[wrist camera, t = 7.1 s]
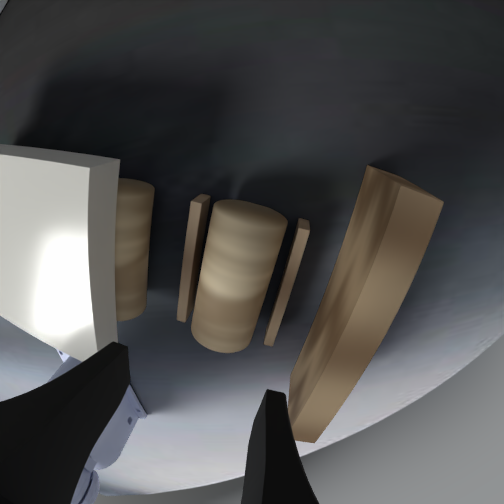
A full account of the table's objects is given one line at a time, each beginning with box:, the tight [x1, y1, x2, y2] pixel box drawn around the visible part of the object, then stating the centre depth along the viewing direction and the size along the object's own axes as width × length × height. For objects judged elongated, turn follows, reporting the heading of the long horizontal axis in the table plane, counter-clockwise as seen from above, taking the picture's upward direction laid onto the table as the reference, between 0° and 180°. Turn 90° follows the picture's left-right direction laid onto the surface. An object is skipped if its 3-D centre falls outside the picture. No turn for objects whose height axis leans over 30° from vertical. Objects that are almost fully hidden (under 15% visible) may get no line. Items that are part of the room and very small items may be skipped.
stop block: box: [288, 165, 444, 443], centre depth 16 cm, size 16×2×6 cm, turn 168°
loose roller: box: [191, 199, 288, 353], centre depth 17 cm, size 8×4×4 cm, turn 166°
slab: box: [0, 144, 120, 362], centre depth 15 cm, size 12×14×2 cm
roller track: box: [115, 178, 310, 347], centre depth 18 cm, size 8×25×4 cm, turn 78°
